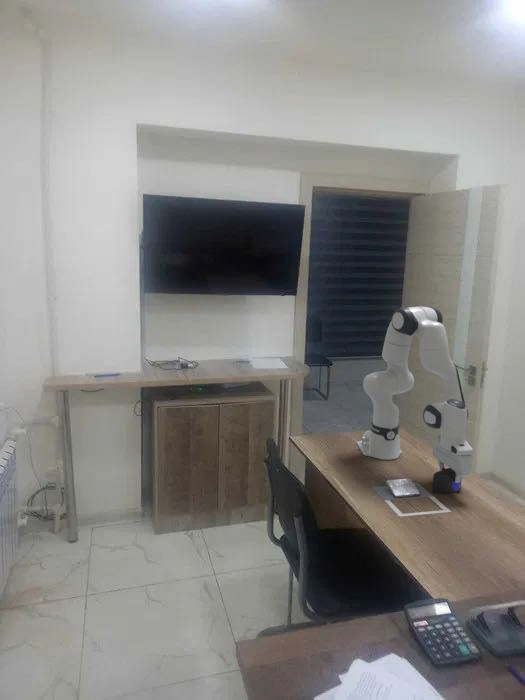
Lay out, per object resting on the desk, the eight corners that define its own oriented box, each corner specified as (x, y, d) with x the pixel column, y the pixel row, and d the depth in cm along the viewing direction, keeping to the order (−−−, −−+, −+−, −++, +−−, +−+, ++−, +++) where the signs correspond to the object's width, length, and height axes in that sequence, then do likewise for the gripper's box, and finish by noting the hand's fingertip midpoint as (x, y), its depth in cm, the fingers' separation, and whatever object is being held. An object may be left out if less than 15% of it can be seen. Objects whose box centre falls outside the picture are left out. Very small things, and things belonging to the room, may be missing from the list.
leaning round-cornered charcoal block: (440, 500, 188) (443, 476, 186) (430, 494, 192) (432, 471, 190) (467, 490, 197) (469, 467, 195) (457, 485, 201) (459, 463, 199)
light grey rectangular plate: (385, 482, 193) (386, 480, 192) (409, 480, 195) (410, 478, 195) (395, 498, 186) (396, 496, 185) (419, 496, 188) (420, 494, 187)
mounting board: (370, 489, 194) (371, 486, 194) (417, 486, 199) (418, 483, 199) (399, 519, 173) (399, 516, 173) (451, 514, 177) (451, 511, 177)
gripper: (429, 434, 201) (427, 466, 203) (461, 452, 181) (457, 488, 184) (444, 433, 202) (441, 465, 205) (476, 451, 183) (472, 487, 185)
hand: (449, 476), depth 194 cm, fingers open, 8 cm apart
